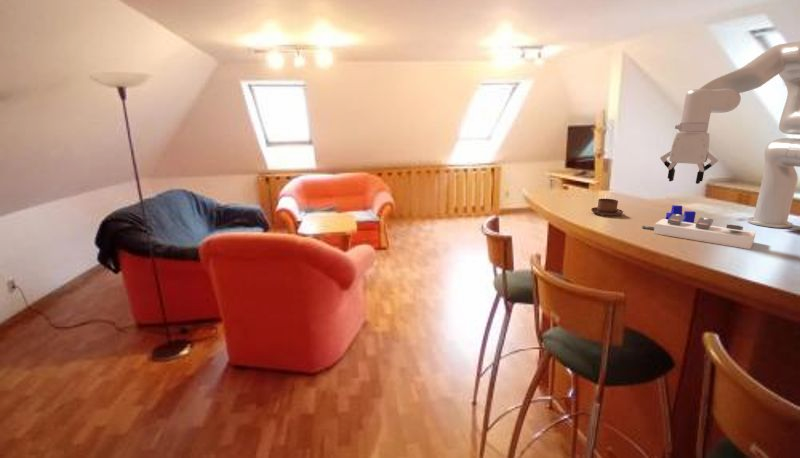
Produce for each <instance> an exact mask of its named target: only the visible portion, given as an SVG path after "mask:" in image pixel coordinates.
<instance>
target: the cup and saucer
mask: <svg viewBox="0 0 800 458" xmlns="http://www.w3.org/2000/svg"><path fill="white" fill-rule="evenodd" d="M618 205H619V200H618V199H613V198H612V199H611V198H598V200H597V207H595V206H594V207H592V208H591V209H590V210H591V212H593V214H596V215H599V216H605V217H607V216H608V217H617V216H620V215H622V214H623V213H624V210H621V209H619V208H618Z"/></svg>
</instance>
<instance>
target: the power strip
mask: <svg viewBox="0 0 800 458" xmlns="http://www.w3.org/2000/svg"><path fill="white" fill-rule="evenodd" d="M696 223H697V222H696ZM696 223H695V222H694V223H689V222H682V223H681V224H680V225H676V224H669V223H668V219H666V218H662V219H659V220H658V221H657V222H656V223H654V226H648V225H642V226H641V229H645V230H651V231H653V234H656V235H662V236H666V237H667V236H668V237H674V238H681V239H686V240H691V241H697V242H705V243H709V244H715V245H723V246H726V247H727V246H728V247H735V248H740V249H748V250H751V248H752V246H753V244H754V242H755V238H756V233H757V232H756V231H751V230H745V229H743V230H735V229H728V228H726V227H724V226H715V225H711V226H710V228H709V229H703V228H696Z"/></svg>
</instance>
